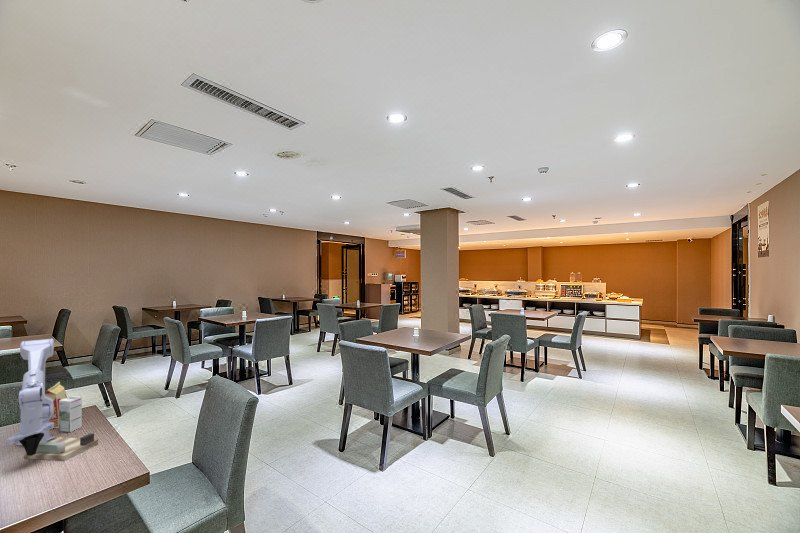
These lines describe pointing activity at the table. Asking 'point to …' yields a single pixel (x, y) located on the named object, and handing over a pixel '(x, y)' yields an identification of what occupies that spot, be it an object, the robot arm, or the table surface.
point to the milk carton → (56, 401)
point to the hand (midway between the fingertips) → (31, 454)
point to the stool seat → (67, 448)
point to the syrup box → (70, 414)
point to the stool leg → (51, 447)
